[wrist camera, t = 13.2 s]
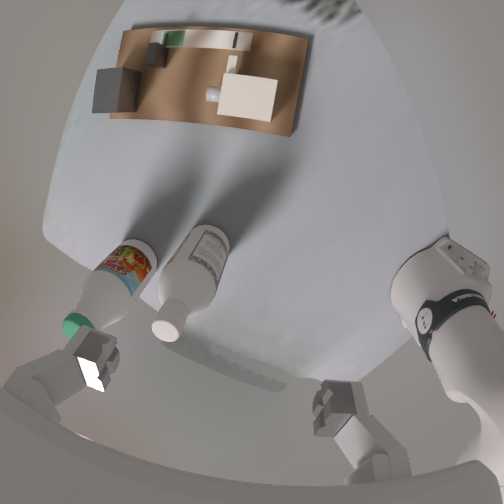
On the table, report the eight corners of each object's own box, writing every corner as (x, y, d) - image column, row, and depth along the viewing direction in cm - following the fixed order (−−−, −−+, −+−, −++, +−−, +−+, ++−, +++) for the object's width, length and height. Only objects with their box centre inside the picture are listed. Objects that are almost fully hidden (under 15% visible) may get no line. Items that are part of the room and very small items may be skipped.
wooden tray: (307, 41, 30) (308, 38, 28) (289, 136, 36) (290, 137, 34) (128, 32, 30) (122, 30, 28) (114, 118, 36) (108, 118, 34)
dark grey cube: (141, 71, 32) (123, 67, 27) (136, 112, 34) (116, 112, 29) (118, 73, 32) (97, 69, 27) (113, 112, 34) (92, 113, 29)
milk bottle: (164, 275, 47) (113, 359, 29) (128, 280, 49) (72, 357, 31) (149, 233, 44) (81, 307, 26) (112, 242, 45) (42, 310, 27)
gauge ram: (280, 67, 31) (281, 60, 26) (270, 121, 34) (270, 121, 29) (218, 60, 31) (210, 52, 26) (209, 113, 34) (199, 112, 29)
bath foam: (192, 266, 46) (147, 355, 28) (181, 226, 43) (122, 304, 25) (234, 262, 45) (207, 356, 27) (225, 220, 42) (187, 300, 24)
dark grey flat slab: (172, 34, 29) (161, 26, 25) (165, 68, 31) (153, 63, 28) (163, 34, 29) (152, 27, 25) (157, 68, 31) (145, 64, 28)
